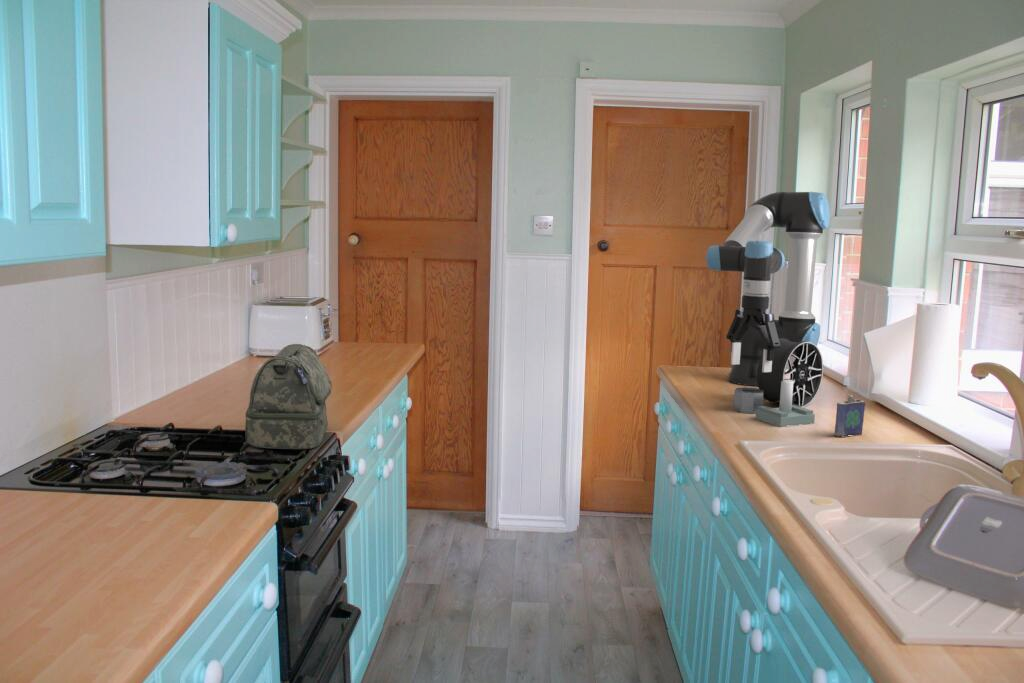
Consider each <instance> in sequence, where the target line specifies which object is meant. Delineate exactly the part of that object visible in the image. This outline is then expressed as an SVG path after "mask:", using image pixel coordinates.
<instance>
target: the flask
mask: <svg viewBox="0 0 1024 683" xmlns="http://www.w3.org/2000/svg"><path fill="white" fill-rule="evenodd" d="M846 397H847V398H846V401H845V400H844V401H839V402H837V403H836V413H835V425H834V433H833V434H834V436H836V437H837V436H848V435H855V436H862V435H863V427H864V426H863V425H864V421H865V419H864V417H865V416H864V415H865V408H866V401H865V400H862V399H858V398H856V399H855V398H854V397H855V396H854V395H853V394H847V395H846ZM861 434H862V435H861Z"/></svg>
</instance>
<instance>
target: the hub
mask: <svg viewBox="0 0 1024 683" xmlns="http://www.w3.org/2000/svg"><path fill="white" fill-rule="evenodd" d="M733 396H734V397H733V411H735V412H737V413H740V412H741V413H742V414H751V415H754V414H755V415H756V410H758V407H759V406H764V390H760V389H759V388H758V387H757V388H754V387H747V386H745V387H743V386H742V387H735V388H734V394H733ZM741 413H740V414H741Z"/></svg>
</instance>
